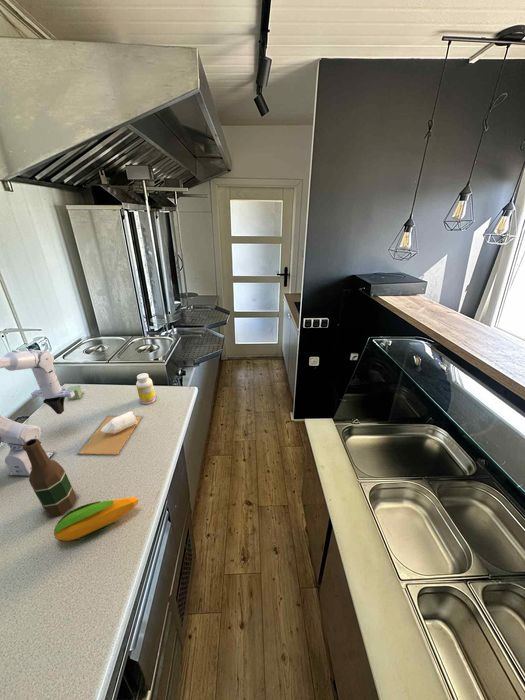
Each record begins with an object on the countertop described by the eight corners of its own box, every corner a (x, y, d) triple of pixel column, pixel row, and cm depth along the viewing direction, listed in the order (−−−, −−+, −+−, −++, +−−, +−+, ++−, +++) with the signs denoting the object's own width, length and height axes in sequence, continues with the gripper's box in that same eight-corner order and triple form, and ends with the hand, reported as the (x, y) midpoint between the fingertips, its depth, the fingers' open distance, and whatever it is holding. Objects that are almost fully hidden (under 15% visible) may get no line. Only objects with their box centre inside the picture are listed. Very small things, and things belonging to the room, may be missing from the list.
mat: (117, 454, 100) (117, 454, 100) (78, 454, 100) (78, 453, 100) (141, 417, 118) (141, 416, 118) (108, 417, 118) (108, 416, 118)
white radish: (100, 433, 109) (96, 422, 107) (132, 419, 116) (129, 408, 114) (105, 441, 105) (101, 430, 103) (138, 426, 112) (134, 415, 110)
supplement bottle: (139, 398, 130) (133, 373, 124) (155, 394, 133) (149, 370, 127) (141, 406, 125) (134, 381, 119) (156, 402, 127) (151, 377, 121)
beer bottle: (61, 519, 79) (29, 456, 68) (38, 514, 80) (3, 451, 70) (83, 495, 86) (56, 433, 75) (61, 490, 87) (31, 430, 77)
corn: (50, 511, 73) (133, 478, 81) (60, 527, 77) (139, 495, 85) (47, 538, 67) (137, 500, 76) (58, 555, 71) (142, 517, 80)
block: (80, 398, 131) (77, 390, 129) (68, 400, 129) (65, 392, 127) (82, 393, 134) (79, 385, 132) (71, 394, 133) (68, 386, 131)
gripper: (75, 375, 104) (85, 406, 110) (36, 375, 105) (49, 405, 111) (62, 386, 98) (74, 417, 104) (21, 386, 98) (35, 417, 104)
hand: (60, 412), depth 107 cm, fingers closed
